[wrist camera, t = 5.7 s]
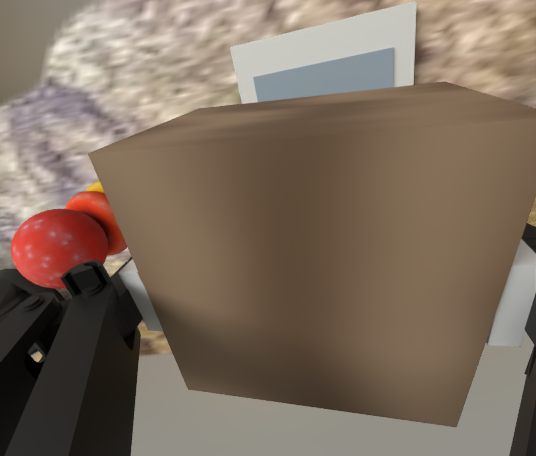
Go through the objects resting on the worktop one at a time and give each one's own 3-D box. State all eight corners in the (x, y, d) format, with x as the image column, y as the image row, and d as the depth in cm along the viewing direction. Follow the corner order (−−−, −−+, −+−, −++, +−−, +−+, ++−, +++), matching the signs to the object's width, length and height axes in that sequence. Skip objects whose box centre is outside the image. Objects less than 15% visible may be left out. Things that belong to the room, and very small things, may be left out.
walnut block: (237, 280, 18) (187, 389, 12) (198, 108, 13) (87, 153, 8) (413, 287, 16) (456, 427, 10) (444, 81, 11) (563, 116, 5)
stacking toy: (228, 165, 31) (115, 280, 16) (195, 214, 36) (78, 344, 20) (165, 116, 30) (-27, 188, 14) (138, 173, 34) (-35, 277, 19)
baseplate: (269, 211, 33) (266, 219, 32) (235, 47, 26) (228, 47, 24) (406, 200, 29) (409, 208, 28) (412, 3, 22) (417, 0, 20)
